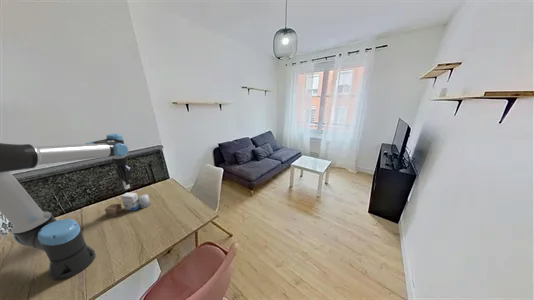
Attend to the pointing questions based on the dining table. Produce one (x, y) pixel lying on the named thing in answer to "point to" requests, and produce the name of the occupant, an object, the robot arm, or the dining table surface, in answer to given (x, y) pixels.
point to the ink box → (130, 201)
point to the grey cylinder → (144, 201)
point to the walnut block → (113, 210)
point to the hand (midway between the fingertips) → (127, 188)
